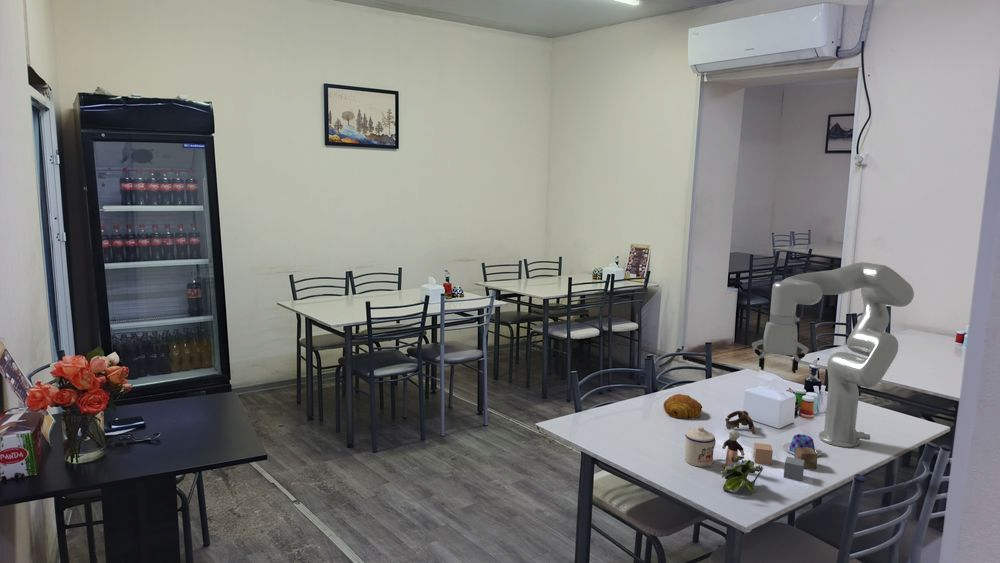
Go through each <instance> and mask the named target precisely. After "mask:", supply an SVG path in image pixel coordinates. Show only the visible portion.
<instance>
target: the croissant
mask: <svg viewBox="0 0 1000 563" xmlns="http://www.w3.org/2000/svg"><path fill="white" fill-rule="evenodd" d="M662 406H663V410H664V412H665V414H667V415H668V416H670V417H672V418H677V419H691V420H693V419H696V418H698V417H700V415H701V414H702V411H703V410H702V409H703V405H702V404H701V403H700V402H699V401H697V399H694V398H693V397H691V396H690V395H689V394H688V395H687V394H680V393H677V394H674V395H671V396H669V397H668V398H667V399H666V400H665V401H663V405H662Z"/></svg>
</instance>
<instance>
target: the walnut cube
mask: <svg viewBox="0 0 1000 563" xmlns="http://www.w3.org/2000/svg"><path fill="white" fill-rule="evenodd" d="M794 458H797V459H801V460H805V461H804V469H807V468H808V469H811V470H817V469H818V468H817V466H818V458H819V456H818V454H817V453H816V452H815V451H814V450H813V449H812V448H804V447H796V450H795V454H794Z"/></svg>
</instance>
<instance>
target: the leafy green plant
mask: <svg viewBox="0 0 1000 563" xmlns="http://www.w3.org/2000/svg"><path fill="white" fill-rule="evenodd" d="M731 461H733V462H734V463H735V462H736V463H735V464H732V463H731V465H729V464H728V465H729V466H726V467H724V468H725V469H724V471H720V473H721V474H722V476H721V479H724V480H725V481H724V484H723V486H722V490H723V491H724V492H725V491H726V492H727V491H731V492H732V491H733V492H734V491H738V490H740V489H741V488H742V487H744V486H746V487H747V489H748V490H749V491H750V495H752V494H753V493H755V492H756V490H755V488H754V486H755V484H756V481H757V479H758V477H759V476H760V474H761V473H762V472H763V470H764V467H763V465H762V464H758V465H755V462H754V460H751V459H747V460H746V459H745V455H744V456H742V455H738V456H737V457H732V460H731ZM756 472H758V474H757V475H756V477H755V478H754V479H753V480H751V481H750V480H749V479H748V476H749V474H755V473H756Z"/></svg>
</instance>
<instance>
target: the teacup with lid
mask: <svg viewBox="0 0 1000 563" xmlns="http://www.w3.org/2000/svg"><path fill="white" fill-rule="evenodd" d="M684 436H685V446H684V448H685V450H684V461H685V462H686V463H687V464H689V465H690V466H694V467H700V468H706V467H710V466H711V465H713V462H714V461H713V460H714V449H715V447H716V442H717V439H716V438H715V437H716V436H715V435H714V434H713V433H712V432H711V431H708V430H706V429H705V428H704V426H701V425H700V426H697V428H695V429H694V428H693V429H689V430H687V431H686V433H685V435H684Z"/></svg>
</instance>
